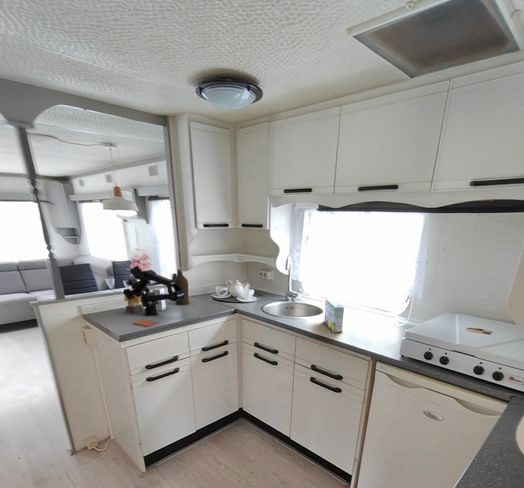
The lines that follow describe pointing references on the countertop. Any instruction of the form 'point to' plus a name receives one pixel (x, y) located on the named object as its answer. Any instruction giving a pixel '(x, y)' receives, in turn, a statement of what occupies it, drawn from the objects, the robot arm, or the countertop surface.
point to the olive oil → (182, 287)
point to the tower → (133, 307)
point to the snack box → (334, 315)
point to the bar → (136, 299)
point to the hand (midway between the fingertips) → (131, 299)
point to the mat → (145, 323)
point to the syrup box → (161, 303)
